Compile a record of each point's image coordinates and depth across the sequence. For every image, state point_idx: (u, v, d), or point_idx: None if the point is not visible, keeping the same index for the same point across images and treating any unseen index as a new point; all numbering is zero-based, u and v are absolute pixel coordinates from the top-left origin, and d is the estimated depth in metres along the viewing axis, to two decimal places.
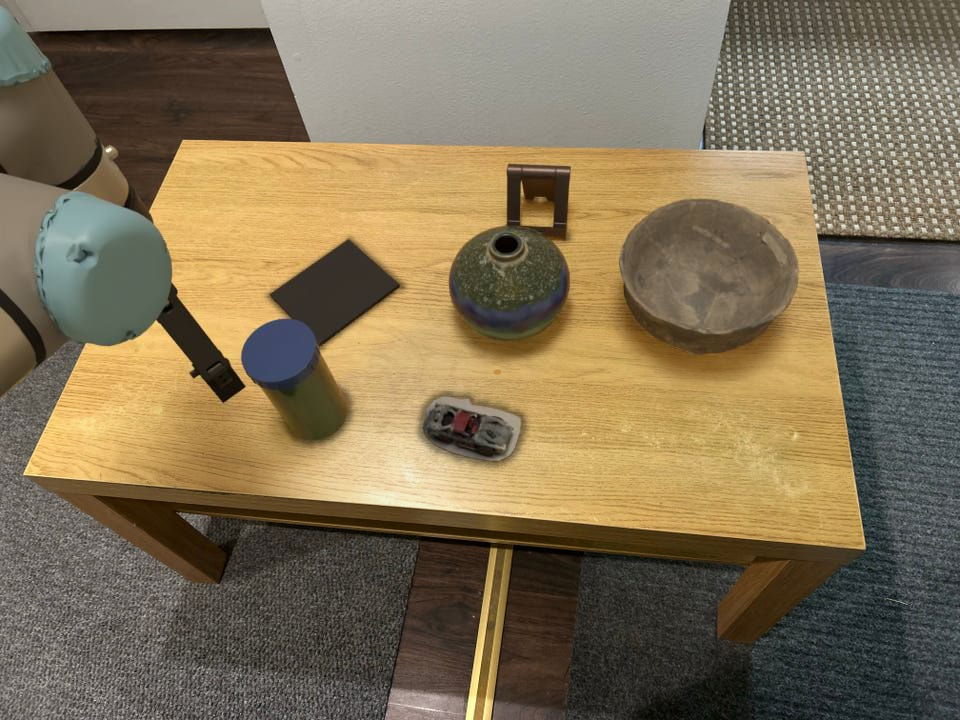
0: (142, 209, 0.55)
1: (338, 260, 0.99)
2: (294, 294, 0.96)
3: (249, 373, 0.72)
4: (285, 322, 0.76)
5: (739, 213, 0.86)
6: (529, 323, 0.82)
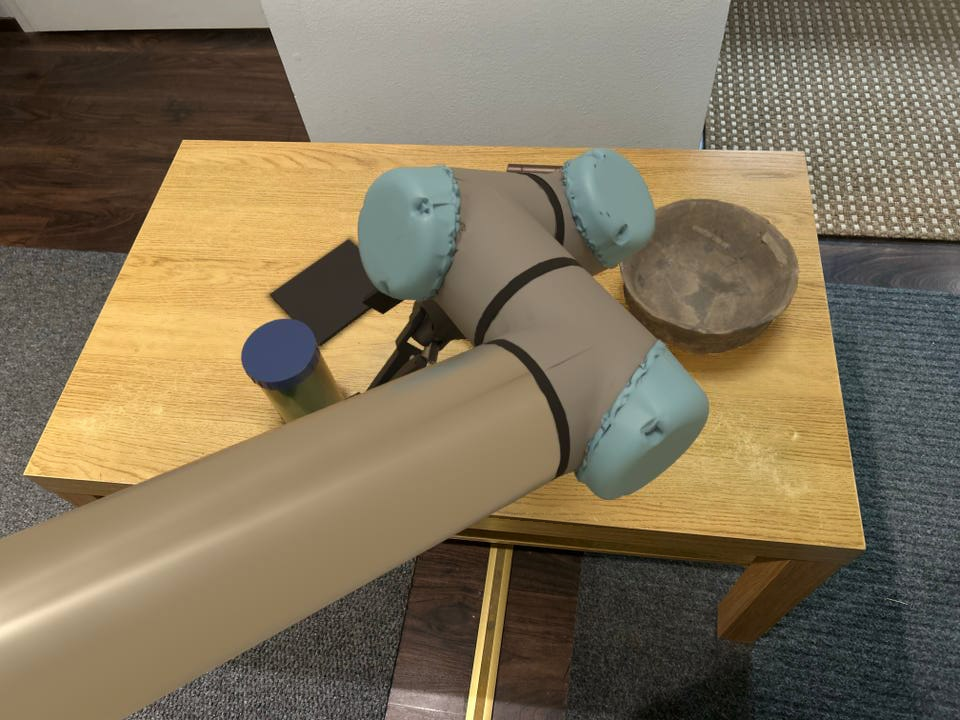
0: None
1: (338, 260, 0.99)
2: (294, 294, 0.96)
3: (249, 373, 0.72)
4: (285, 322, 0.76)
5: (739, 213, 0.86)
6: None
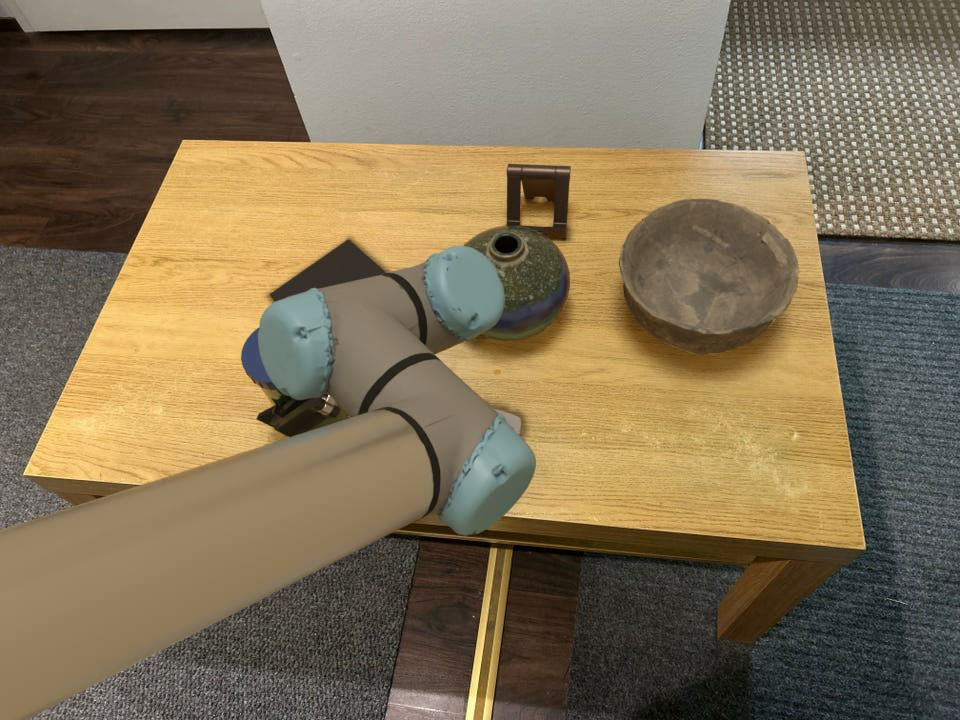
0: None
1: (338, 260, 0.99)
2: (294, 294, 0.96)
3: (249, 373, 0.72)
4: None
5: (739, 213, 0.86)
6: (529, 323, 0.82)
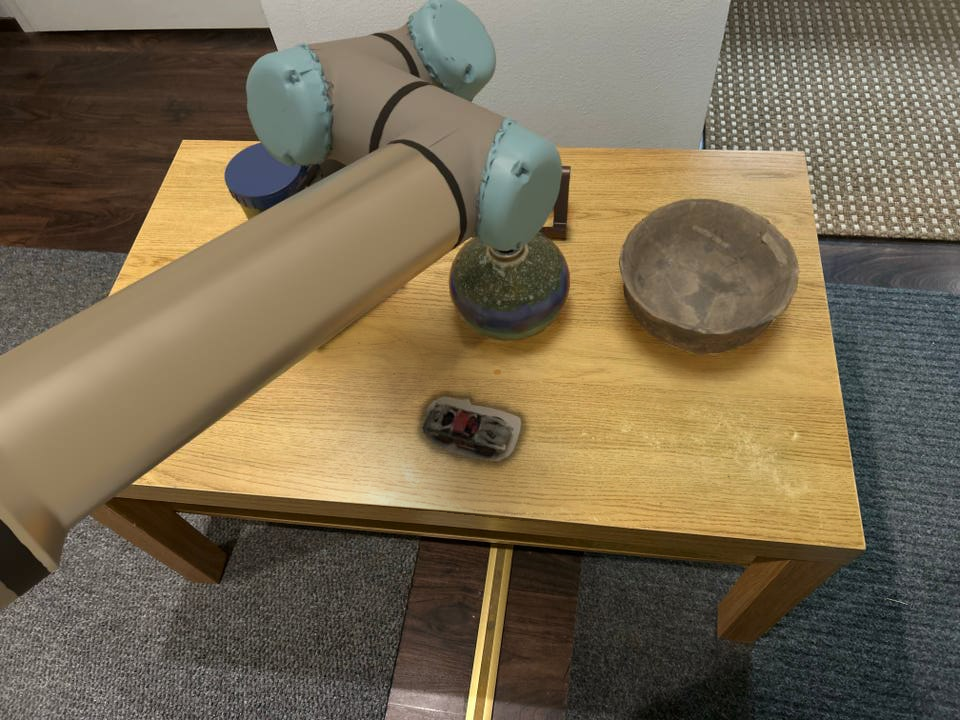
0: None
1: None
2: None
3: (233, 189, 0.70)
4: None
5: (739, 213, 0.86)
6: (529, 323, 0.82)
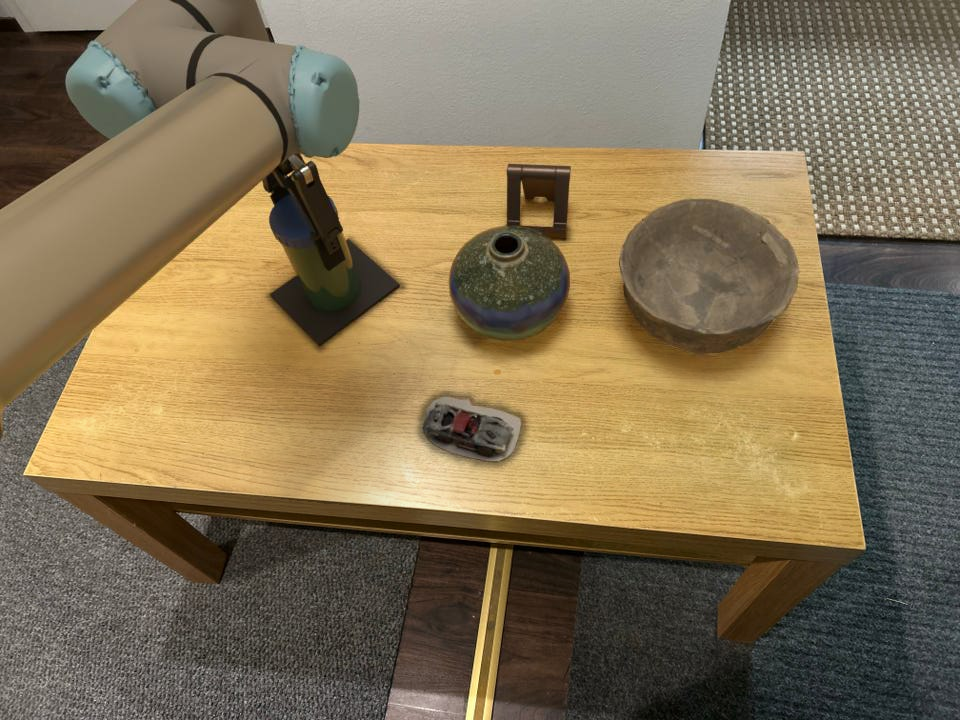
0: None
1: None
2: (294, 294, 0.96)
3: (277, 232, 0.82)
4: None
5: (739, 213, 0.86)
6: (529, 323, 0.82)
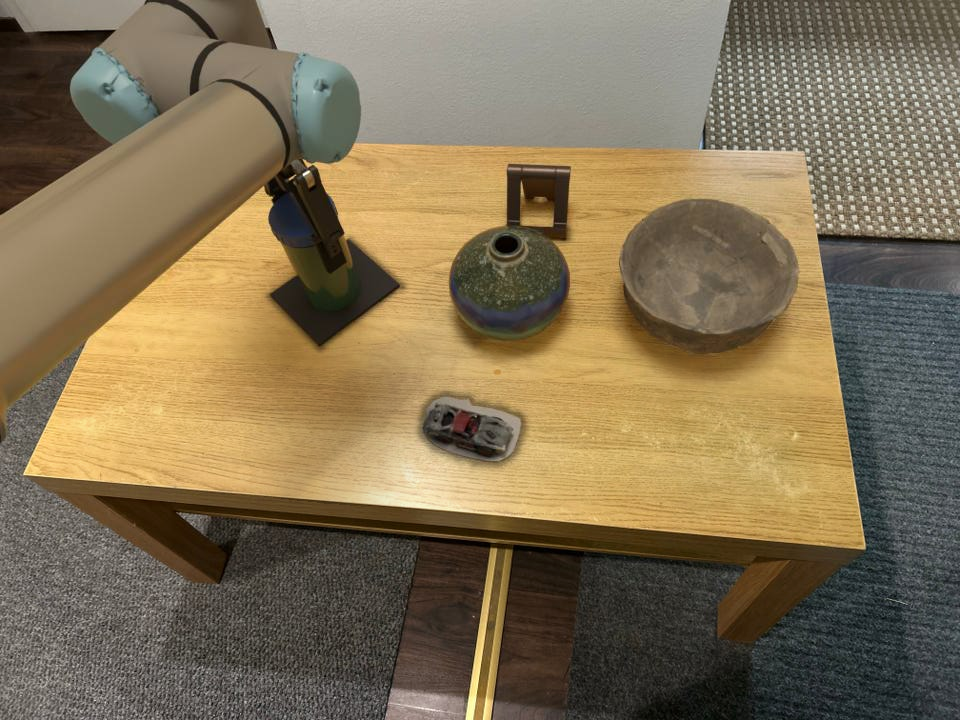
0: None
1: None
2: (294, 294, 0.96)
3: None
4: (274, 209, 0.84)
5: (739, 213, 0.86)
6: (529, 323, 0.82)
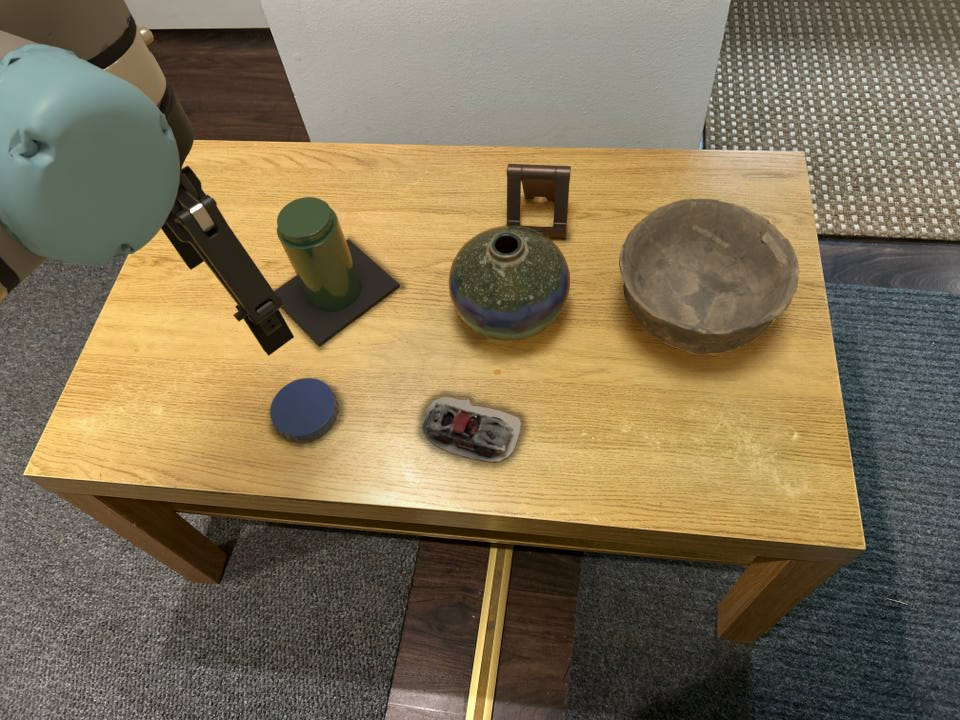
0: (181, 110, 0.46)
1: None
2: (294, 294, 0.96)
3: (319, 426, 0.83)
4: (276, 402, 0.86)
5: (739, 213, 0.86)
6: (529, 323, 0.82)
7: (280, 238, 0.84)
